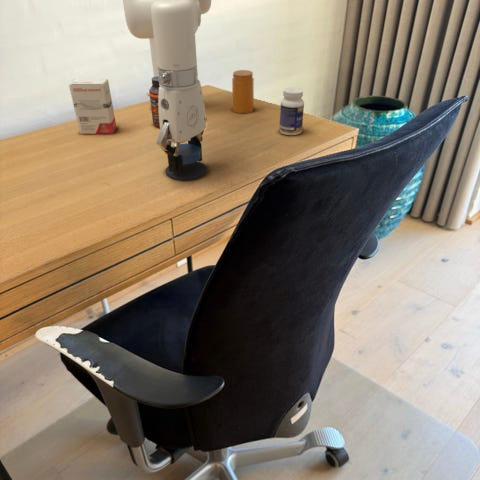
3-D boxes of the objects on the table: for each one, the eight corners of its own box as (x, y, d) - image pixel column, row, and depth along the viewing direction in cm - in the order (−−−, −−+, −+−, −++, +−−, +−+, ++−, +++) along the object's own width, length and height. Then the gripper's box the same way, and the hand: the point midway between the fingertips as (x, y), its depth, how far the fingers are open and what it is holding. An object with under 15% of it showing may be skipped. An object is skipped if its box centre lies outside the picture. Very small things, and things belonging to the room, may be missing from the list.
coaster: (157, 174, 102) (157, 172, 102) (182, 159, 108) (182, 157, 108) (191, 184, 99) (190, 182, 98) (215, 168, 104) (215, 166, 104)
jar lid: (205, 160, 100) (205, 152, 99) (177, 166, 98) (176, 157, 97) (193, 149, 105) (192, 141, 104) (165, 155, 102) (165, 146, 101)
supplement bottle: (148, 125, 124) (142, 79, 116) (162, 118, 128) (157, 73, 120) (166, 130, 122) (161, 82, 114) (180, 122, 125) (176, 76, 118)
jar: (228, 111, 132) (227, 73, 125) (239, 105, 136) (239, 68, 129) (246, 114, 130) (246, 77, 123) (257, 108, 133) (257, 71, 127)
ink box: (117, 126, 124) (108, 77, 116) (113, 134, 120) (103, 83, 112) (84, 127, 124) (73, 78, 116) (79, 134, 120) (67, 84, 112)
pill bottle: (300, 136, 117) (303, 94, 111) (277, 135, 118) (279, 92, 112) (302, 128, 122) (306, 86, 115) (280, 127, 123) (282, 85, 116)
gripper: (165, 91, 84) (175, 186, 96) (219, 68, 95) (222, 155, 107) (133, 85, 87) (146, 177, 99) (189, 63, 98) (195, 148, 110)
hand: (186, 165), depth 103 cm, fingers closed on jar lid, 6 cm apart
